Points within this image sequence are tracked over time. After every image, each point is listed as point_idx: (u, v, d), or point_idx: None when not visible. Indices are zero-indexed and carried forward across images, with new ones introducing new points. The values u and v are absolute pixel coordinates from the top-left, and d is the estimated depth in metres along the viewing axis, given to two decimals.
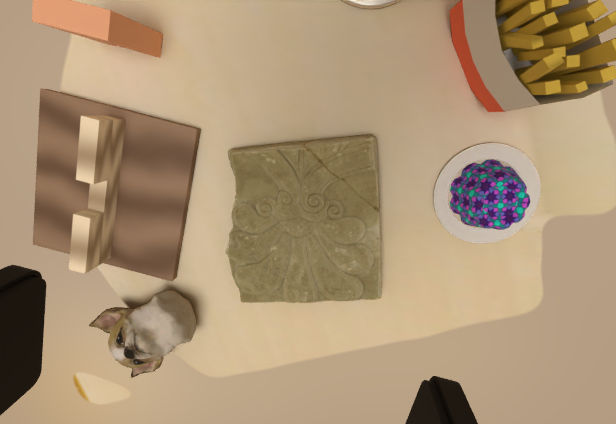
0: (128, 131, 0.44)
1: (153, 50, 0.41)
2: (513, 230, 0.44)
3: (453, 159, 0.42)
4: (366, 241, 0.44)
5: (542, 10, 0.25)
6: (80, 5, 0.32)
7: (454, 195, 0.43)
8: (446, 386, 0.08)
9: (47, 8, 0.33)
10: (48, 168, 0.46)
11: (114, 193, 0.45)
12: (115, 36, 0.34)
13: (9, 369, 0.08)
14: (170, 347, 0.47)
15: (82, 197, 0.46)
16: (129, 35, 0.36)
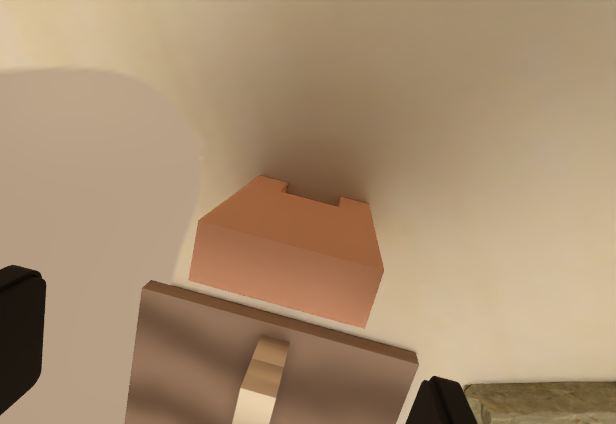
0: (291, 360, 0.25)
1: None
2: None
3: None
4: None
5: None
6: (310, 256, 0.14)
7: None
8: (446, 386, 0.08)
9: (227, 256, 0.14)
10: (147, 403, 0.27)
11: None
12: None
13: (9, 369, 0.08)
14: None
15: None
16: None
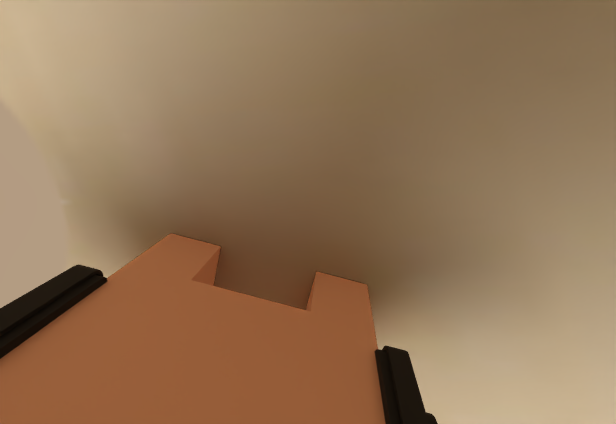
0: None
1: None
2: None
3: None
4: None
5: None
6: None
7: None
8: (394, 353, 0.09)
9: None
10: None
11: None
12: None
13: None
14: None
15: None
16: None
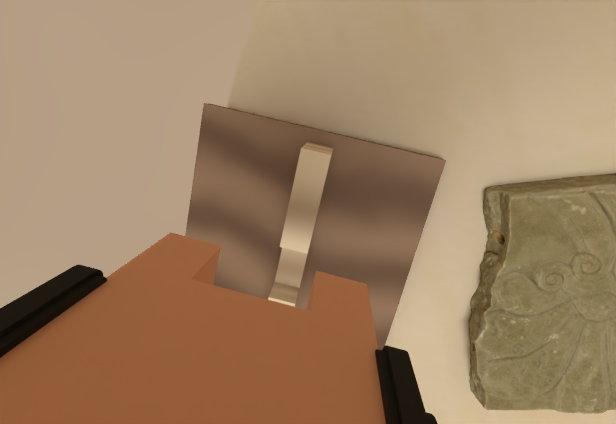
0: (334, 165, 0.29)
1: None
2: None
3: None
4: None
5: None
6: None
7: None
8: (394, 353, 0.09)
9: None
10: (205, 220, 0.31)
11: None
12: None
13: None
14: None
15: (253, 260, 0.32)
16: None
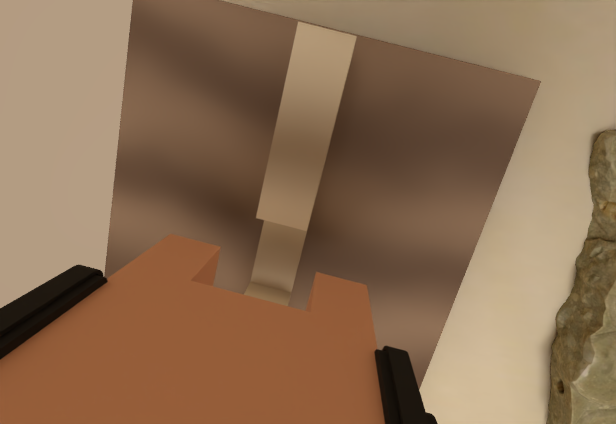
0: (353, 90, 0.17)
1: None
2: None
3: None
4: None
5: None
6: None
7: None
8: (394, 353, 0.09)
9: None
10: (142, 181, 0.19)
11: None
12: None
13: None
14: None
15: None
16: None
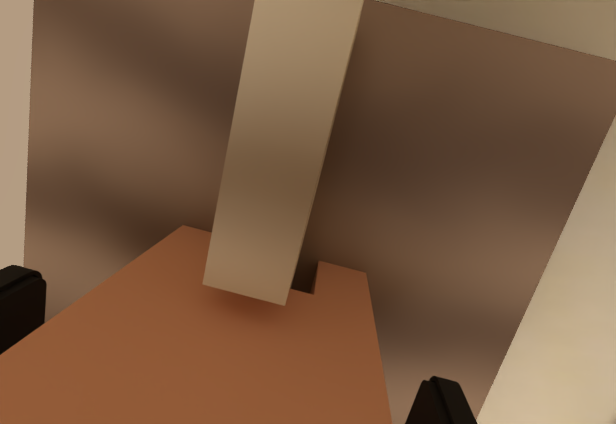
0: (358, 80, 0.12)
1: None
2: None
3: None
4: None
5: None
6: None
7: None
8: (446, 386, 0.08)
9: None
10: (64, 208, 0.14)
11: None
12: None
13: None
14: None
15: None
16: None
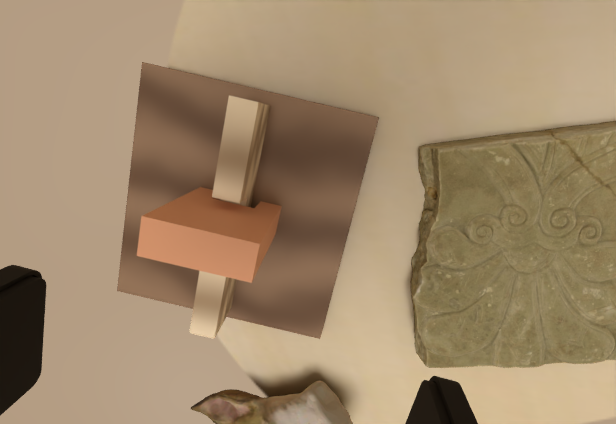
0: (272, 123, 0.29)
1: (273, 234, 0.30)
2: None
3: None
4: None
5: None
6: (213, 236, 0.21)
7: None
8: (446, 386, 0.08)
9: (161, 239, 0.22)
10: (147, 181, 0.31)
11: None
12: (256, 267, 0.23)
13: (9, 369, 0.08)
14: None
15: None
16: (264, 247, 0.25)
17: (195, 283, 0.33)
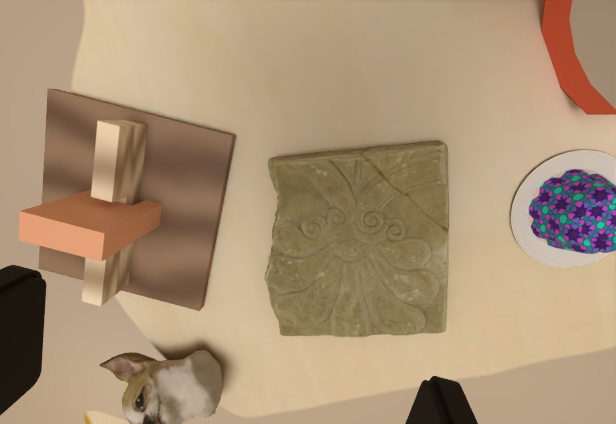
0: (150, 138, 0.37)
1: (151, 226, 0.38)
2: (576, 262, 0.38)
3: (566, 154, 0.35)
4: (430, 267, 0.37)
5: None
6: (71, 227, 0.29)
7: (543, 195, 0.36)
8: (446, 386, 0.08)
9: (35, 228, 0.30)
10: (57, 181, 0.39)
11: None
12: (110, 250, 0.31)
13: (9, 369, 0.08)
14: (191, 417, 0.41)
15: None
16: (126, 236, 0.33)
17: None
